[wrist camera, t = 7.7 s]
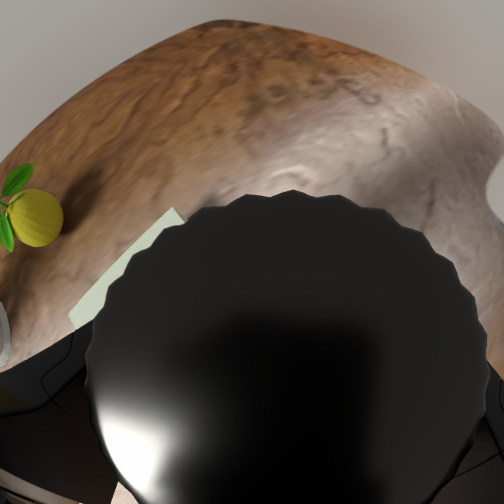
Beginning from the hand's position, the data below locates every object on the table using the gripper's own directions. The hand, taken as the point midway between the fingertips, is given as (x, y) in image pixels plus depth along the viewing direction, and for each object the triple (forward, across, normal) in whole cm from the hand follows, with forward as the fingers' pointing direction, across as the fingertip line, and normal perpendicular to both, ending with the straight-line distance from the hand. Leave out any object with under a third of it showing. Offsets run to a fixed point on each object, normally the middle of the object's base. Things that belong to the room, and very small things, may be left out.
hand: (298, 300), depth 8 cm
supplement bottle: (+4, 0, +6) cm, 7 cm away
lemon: (+13, +25, +6) cm, 29 cm away
